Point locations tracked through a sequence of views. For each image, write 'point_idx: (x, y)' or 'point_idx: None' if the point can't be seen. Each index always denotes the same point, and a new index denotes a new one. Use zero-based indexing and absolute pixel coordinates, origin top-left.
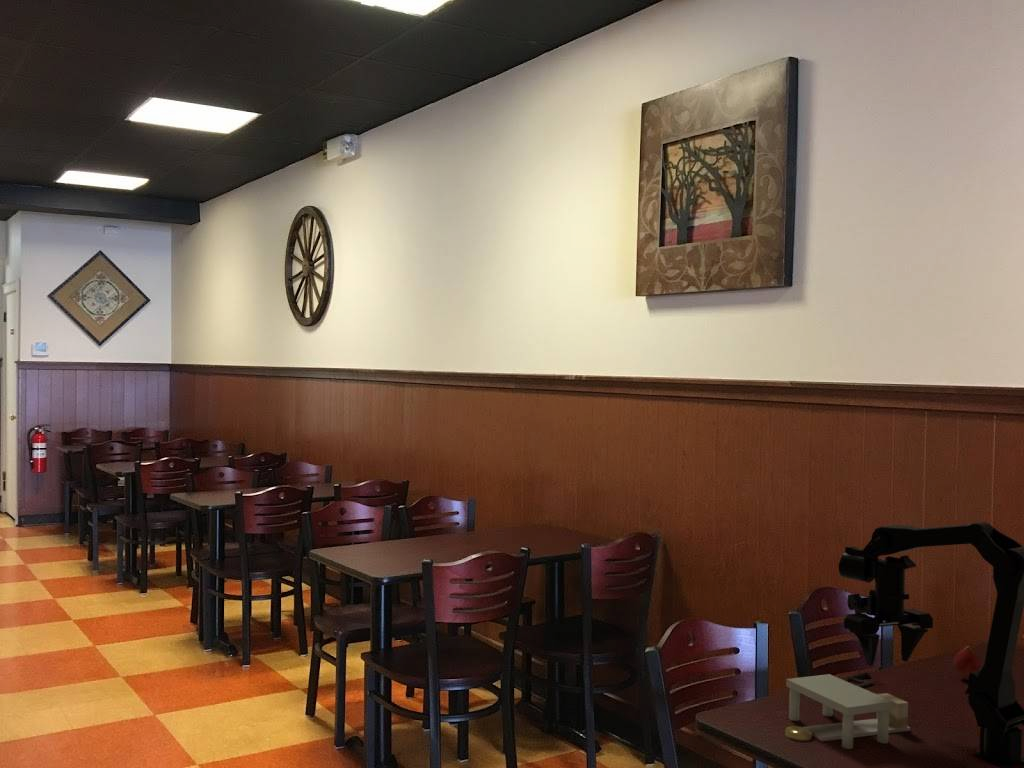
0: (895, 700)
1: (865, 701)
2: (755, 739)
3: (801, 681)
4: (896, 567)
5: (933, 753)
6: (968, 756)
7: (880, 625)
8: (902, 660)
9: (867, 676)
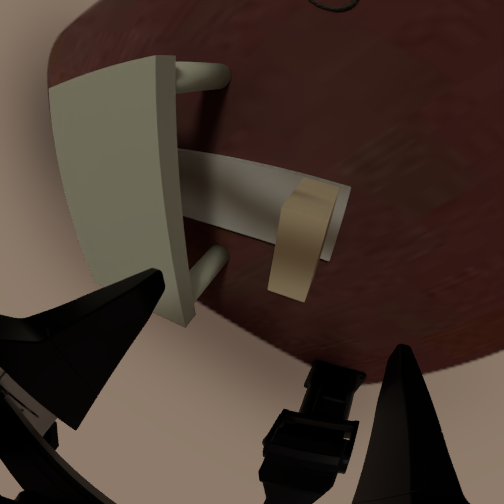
0: (285, 274)
1: None
2: None
3: (63, 113)
4: None
5: (263, 324)
6: (303, 355)
7: (76, 479)
8: (398, 344)
9: None
